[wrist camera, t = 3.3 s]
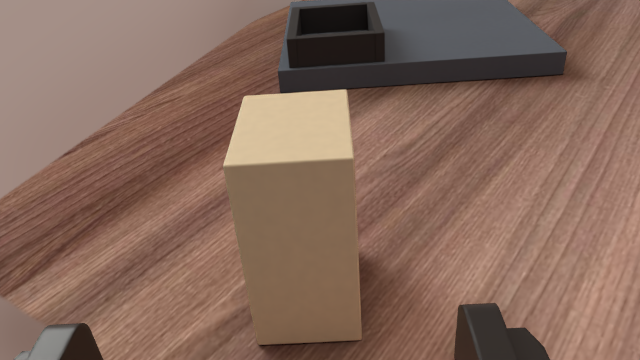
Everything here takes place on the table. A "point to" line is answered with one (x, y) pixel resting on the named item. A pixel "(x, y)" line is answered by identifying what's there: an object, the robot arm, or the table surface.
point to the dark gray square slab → (410, 44)
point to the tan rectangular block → (297, 216)
